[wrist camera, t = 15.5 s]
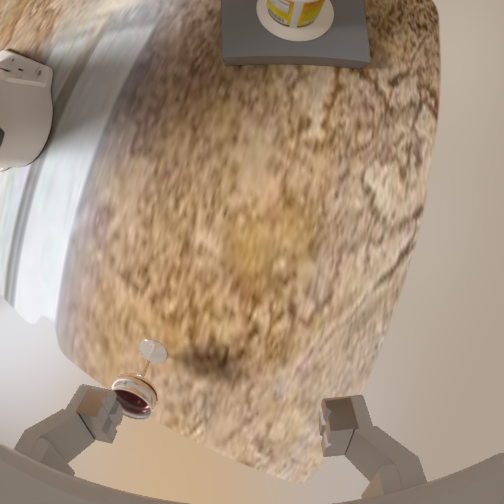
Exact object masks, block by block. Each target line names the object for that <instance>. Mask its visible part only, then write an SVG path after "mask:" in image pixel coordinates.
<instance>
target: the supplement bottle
mask: <svg viewBox="0 0 504 504" xmlns="http://www.w3.org/2000/svg"><path fill="white" fill-rule="evenodd" d="M324 2H325V0H267V9H268V13H269V15H270V16H271V18H272V19H273V20H274V21H275V22H277V23H278V24H280V25H282V26H285V27H288V28H303V27H306V26H308V25H310V24H312V23H313V22H314V21H315V20H316V19H317V17H318V15H319V13H320V11H321V8H322V6H323V4H324Z"/></svg>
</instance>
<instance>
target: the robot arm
mask: <svg viewBox="0 0 504 504" xmlns="http://www.w3.org/2000/svg"><path fill="white" fill-rule="evenodd" d="M40 73H41V74H40ZM52 77H53V71H52V69H51V68H50V67H48V66H45V65H43V64H41V63H38V62H36V61H34V60H31V59H29V58H26V57H24V56H21V55H19V54H16V53H14V52H11V51H9V50H2V51H1V52H0V172H3V171H5V170H7V169H8V168H9V167H23V166H26V165H28V164H29V163H31V162H32V161H33V160H34V159H35V158H36V157H37V156H38V155H39V153H40V152H41V151H42V149H43V147H44V145H45V143H46V141H47V138H48V135H49V132H50V128H51V123H52V113H53V107H52V98H51V83H52ZM116 397H117V395H116V393H115V391H113V390H108V389H103V388H99V387H94V386H89V385H84V384H82V385H81V386H79V388H78V390H77V391H76V393H75V394H74V396H73V398H72V399H71V401H70V403H69V404H68V406H67V408H66V409H65V410H64V409H62V410H60V411H59V412H57V413H55V414H53V415H51V416H50V417H48V418H46V419H45V420H43V421H41V422H39V423H37V424H35V425H34V426H32V427H30V428H28V429H26V430H25V431H24V433H23V434H22V436H21V438H20V439H19V441H18V443H17V444H16V446H15V448H14V449H11V448H9V447H7V446H6V445H4V444H2V443H0V504H187V503H180V502H174V501H168V500H162V499H157V498H151V497H147V496H142V495H137V494H133V493H129V492H125V491H121V490H117V489H113V488H110V487H106V486H103V485H100V484H96V483H93V482H90V481H87V480H84V479H81V478H78V477H75V476H74V474H75V472H74V470H73V469H72V468H71V467H70V466H69V465H68V462H70V461H71V460H72V459H74V458H75V457H76V456H77V455H78V454H80V453H81V452H82V451H83V450H85V449H86V448H87V447H88V446H89V445H90V444H92V443H93V442H94V441H95V440H98V441H103V442H107V443H113V440H114V438H115V436H116V433H117V430H116V428H115V427H116V426H118V425H119V424H120V423H121V421H122V417H123V410H122V406H121V404H120V403H119V402H118V401H117V400H116ZM321 406H322V411H321V412H320V415H319V431H320V435H321V436H322V437H323V438H322V443H321V445H322V451H323V457H328V456H339V455H345V456H346V457H347V458H348V460H350V461H351V463H352V464H353V465H354V466H355V467H356V468H357V469H358V470H359V471H360V472H361V473H362V474H363V475H364V476H365V477H366V478H367V479H368V480H369V481H370V484H369V485H368V487H367V488H366V490H365V491H364V492H363V494H362V499H360V500H353V501H348V502H341V503H334V504H504V453H499V454H497V455H494V456H492V457H490V458H488V459H486V460H484V461H482V462H480V463H478V464H475V465H473V466H470V467H468V468H466V469H463V470H461V471H458V472H456V473H453V474H450V475H448V476H445V477H442V478H439V479H437V480H434V481H430V482H427V481H426V478H425V475H424V472H423V469H422V466H421V463H420V460H419V458H418V456H416V455H415V454H414V453H412V452H411V451H409V450H408V449H407V448H405V447H404V446H403V445H401V444H400V443H399V442H397V441H396V440H395V439H393V438H392V437H391V436H389V435H388V434H387V433H385V432H384V431H382V430H381V429H380V428H379V427H377V426H373V425H372V422H371V419H370V415H369V412H368V409H367V406H366V403H365V400H364V397H363V396H362V395H356V396H345V397H336V398H326V399H323V400H322V404H321Z"/></svg>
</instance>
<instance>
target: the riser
mask: <svg viewBox="0 0 504 504" xmlns="http://www.w3.org/2000/svg"><path fill="white" fill-rule="evenodd" d="M221 31H222V59H223V61H224V63H225V65H226V66H235V65H259V64H295V65H319V66H333V67H345V68H354V69H361V68H362V67H364V66H365V65H367V64H369V63H370V50H369V40H368V31H367V22H366V14H365V7H364V0H325V2H324V4H323V6H322V8H321V11H320V13H319V15H318V17H317V19H316V20H315V21H314V22H313V23H312V24H310V25H308V26H306V27H303V28H288V27H285V26H282V25H280V24H278V23H277V22H275V21H274V20H273V19H272V18H271V16H270V15H269V13H268V9H267V0H221Z"/></svg>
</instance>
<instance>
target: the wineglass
mask: <svg viewBox="0 0 504 504" xmlns="http://www.w3.org/2000/svg"><path fill="white" fill-rule="evenodd" d="M139 352H140V354H141V355H142V356H143V358H145V359H146V360H147V362H146V364H145V365H144V367H143V369H142V371H141V373H140V374H137V373H124V374H121V375H120V376H118V377H117V378H116V379H115V380H114V382H113V383H112V387H111V390H113V391H115V393H116V395H117V397H116V400H117V401H118V402H119V403H120V404H121V406H122V410H123V415H124V416H126V417H129V418H131V419H135V420H145V419H148V418H149V417H151V415H152V413H153V412H152V409H154V407H155V405H156V403H157V393H156V389H155V387H154V386H153V384H152V383H151V382H150V381H149V380H148V379H147V378H146V377H144V376H145V374H146V371H147V368H148V366H149V363H150V362H153V363H161V362H164V361H165V360H166V358H167V352H166V349H165V348H164V347H163V346H162V345H161V344H160V343H158V342H156V341H153V340H144V341H142V342H141V343H140V344H139Z"/></svg>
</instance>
